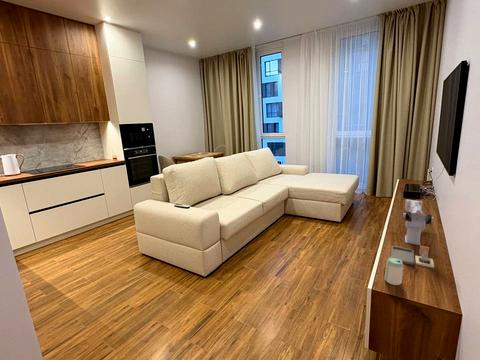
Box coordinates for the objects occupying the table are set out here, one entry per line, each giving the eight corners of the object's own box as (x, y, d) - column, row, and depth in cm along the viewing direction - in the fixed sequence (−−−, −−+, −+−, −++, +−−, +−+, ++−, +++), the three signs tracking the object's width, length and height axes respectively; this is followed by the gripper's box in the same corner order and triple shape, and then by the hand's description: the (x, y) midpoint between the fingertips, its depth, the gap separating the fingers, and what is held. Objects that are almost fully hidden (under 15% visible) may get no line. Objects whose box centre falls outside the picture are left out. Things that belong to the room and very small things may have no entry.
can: (395, 276, 130) (397, 255, 127) (404, 285, 123) (407, 263, 120) (381, 277, 130) (384, 256, 127) (390, 286, 123) (392, 264, 120)
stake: (421, 260, 142) (422, 250, 141) (426, 261, 141) (428, 252, 140) (421, 263, 139) (423, 254, 138) (427, 264, 138) (428, 255, 137)
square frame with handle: (414, 253, 149) (416, 244, 147) (431, 257, 145) (433, 247, 143) (415, 264, 139) (417, 254, 138) (434, 268, 135) (435, 258, 133)
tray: (391, 247, 156) (391, 245, 156) (412, 251, 151) (413, 249, 150) (390, 260, 144) (391, 258, 143) (414, 265, 138) (414, 263, 138)
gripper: (403, 206, 155) (404, 212, 144) (433, 210, 148) (436, 216, 137) (402, 217, 157) (403, 224, 145) (431, 221, 149) (434, 229, 138)
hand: (419, 221), depth 141 cm, fingers open, 7 cm apart
